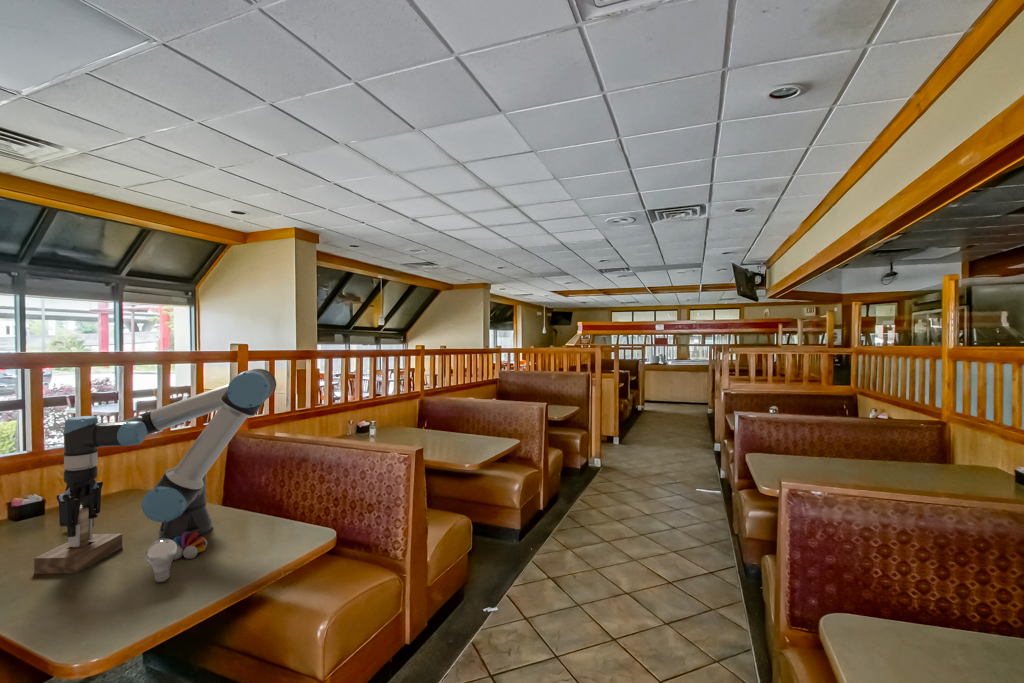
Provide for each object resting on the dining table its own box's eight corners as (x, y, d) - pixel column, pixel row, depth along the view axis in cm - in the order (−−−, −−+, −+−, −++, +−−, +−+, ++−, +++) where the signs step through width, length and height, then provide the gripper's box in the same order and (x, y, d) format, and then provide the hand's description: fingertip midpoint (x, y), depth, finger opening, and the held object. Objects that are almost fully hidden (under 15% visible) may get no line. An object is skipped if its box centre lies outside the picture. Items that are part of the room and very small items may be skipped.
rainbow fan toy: (197, 560, 139) (197, 536, 139) (163, 562, 138) (163, 538, 138) (211, 547, 147) (211, 525, 147) (179, 549, 146) (179, 527, 146)
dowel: (92, 551, 141) (92, 506, 141) (81, 557, 137) (81, 511, 137) (79, 551, 140) (79, 507, 140) (68, 557, 137) (68, 511, 137)
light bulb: (152, 591, 122) (152, 547, 122) (141, 584, 125) (141, 541, 125) (182, 579, 128) (182, 537, 127) (171, 573, 131) (171, 532, 131)
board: (122, 547, 147) (122, 533, 147) (77, 572, 131) (77, 557, 131) (83, 548, 146) (83, 534, 146) (34, 573, 130) (34, 558, 130)
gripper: (92, 459, 147) (91, 531, 147) (41, 475, 130) (40, 556, 130) (116, 459, 147) (115, 531, 147) (68, 475, 130) (68, 555, 131)
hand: (80, 542), depth 139 cm, fingers closed on dowel, 4 cm apart
